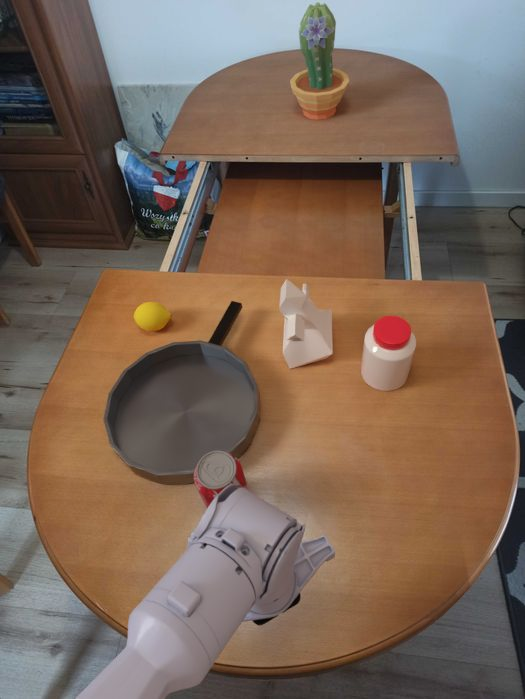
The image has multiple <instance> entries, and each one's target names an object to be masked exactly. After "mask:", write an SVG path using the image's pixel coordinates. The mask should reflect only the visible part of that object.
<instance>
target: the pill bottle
mask: <svg viewBox="0 0 525 699" xmlns="http://www.w3.org/2000/svg"><path fill="white" fill-rule="evenodd" d="M416 348H417V338H416V336H415V333H414V332H413V331H412V327H411V325H410V323H409V322H408V321H407V320H406V319H405V318H403V317H400V316H397V315H385V316H382V317H380V318H378V319H377V320H376V321H375V323H374V324H373V325H371V326H370V327H369V328H368V329H367V331H366V332H365V335H364V340H363V347H362V355H361V362H360V369H359V370H360V375H361V378H362V379H363V381H364V383H365V384H367V385H368V386H369V387H371V388H372V389H375V390H376V391H380V392H381V391H382V392H390V391H395V390H397V389H400V388H402V387H403V386H404V385H405V383H406V382H407V381H408V377H409V374H410V370H411V367H412V364H413V360H414V359H413V358H414V355H415V352H416Z"/></svg>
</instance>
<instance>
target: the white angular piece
mask: <svg viewBox="0 0 525 699" xmlns="http://www.w3.org/2000/svg"><path fill="white" fill-rule="evenodd" d="M278 308H279V309H278V310H279V313H280V314H281V315H282V316H283V317H284V322H283V338H282V339H283V340H282V355H283V357H284V360H285V362H286V365H287V366H288V369H294V368H298V367H301V366H305V365H309V364H312V363H316V362H319V361H323V360H326V359H327V358H329V357H330V356H332V355H333V353H334V351H333V349H334V348H333V309H318V307H317V306H316V304H315V303H314V302H313V301H312V299H311V298H310V288H309V285H308V283H302V289H301V288H299V287H298V286H297V285H296V284H294V283H293V282H292V281H291V280H289V279H288V278H286V279H285V281H284V282H283V284H282V286H281V287H280V292H279V307H278Z"/></svg>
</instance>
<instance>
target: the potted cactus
mask: <svg viewBox="0 0 525 699" xmlns="http://www.w3.org/2000/svg"><path fill="white" fill-rule="evenodd" d="M299 24H300V26H299V29H298V36H299V37H298V38H299V48H300V51H301V53H302V56H303V58H304V61H305V66H306V69H304V70H301V71H299V72H297V73H295V74H294V75H293V77H292V78H291V79H290V80H289V83H290V87H291V92H292V94H293V95H294V96H295V97H296V101H297V103H298V105H299V106H300V107H301V109H302V114H303V116H304V117H306V118H308V119H309V120H315V121H316V120H317V121H321V120H327V119H329V118H331V117H333V116H334V115H335V113H336V112H337V108H336V107H337V106H338V104H339V103H340V102H341V100H343V97H344V93H345V92H346V91H347V89H348V88H349V85H350V81H351V80H350V78H349V75H348V73H347V72H344V71H342V70H340V69H338V68H334V67H333V51H334V49H335V39H336V27H337V26H336V25H337V21H336V18H335V15H334V13H333V12H332V11H331V9H330V8H329V6H328V5H327V4H326V3H325V2H324V3H323V4H321V3H320V2H319V1H318V2H315V4H312V3H311V4H308V7H307V9H306V10H305V12H304V15H302V18H301V20H300V23H299Z"/></svg>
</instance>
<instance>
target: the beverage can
mask: <svg viewBox="0 0 525 699" xmlns="http://www.w3.org/2000/svg"><path fill="white" fill-rule="evenodd" d="M194 482H195V483H194V486H195V488H196V490H197V491H198V493H199V495H200V497H201V500H202V501H203V504H204V505H205V507H206V509H207V508H208V507H209V505H210V504H211V502H212V501H213V500H214V498H215V497H216V496H217V495H218V494H219V493H220V492H221V491H222V490H223V489H224V488H225V487H227V486H228V485H230V484H237V485H238V488H242V487H243V488H246V489H247V490H249V487H248V483H247V481H246V477H245V473H244V469H243V466H242V464H241V462H240V460H239V458H238V459H237V458H236V457H235V456H233V455H232V454H230V453H227V452H224V451H212V452H209V453H207V454H206V455H204V456H203V457H202V458H201V460H200V461H199V463H198V464H197V466H196V469H195V472H194Z"/></svg>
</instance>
